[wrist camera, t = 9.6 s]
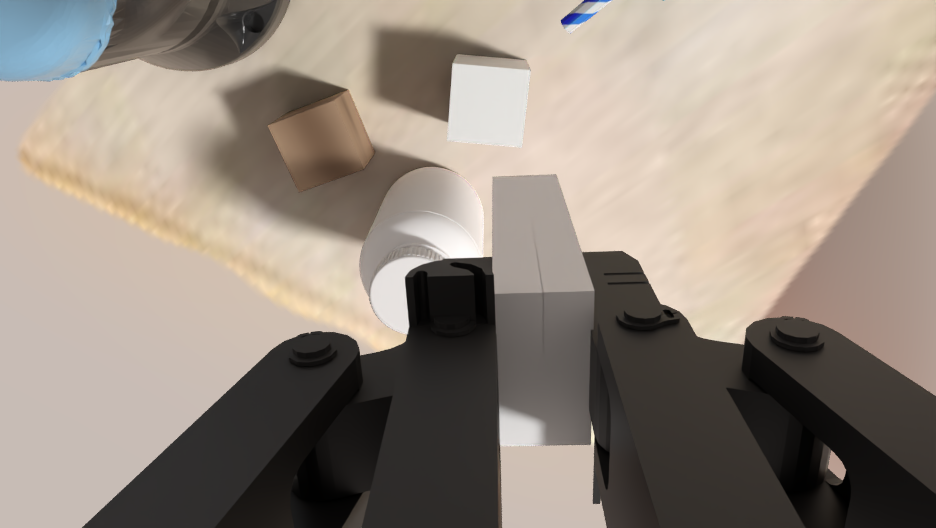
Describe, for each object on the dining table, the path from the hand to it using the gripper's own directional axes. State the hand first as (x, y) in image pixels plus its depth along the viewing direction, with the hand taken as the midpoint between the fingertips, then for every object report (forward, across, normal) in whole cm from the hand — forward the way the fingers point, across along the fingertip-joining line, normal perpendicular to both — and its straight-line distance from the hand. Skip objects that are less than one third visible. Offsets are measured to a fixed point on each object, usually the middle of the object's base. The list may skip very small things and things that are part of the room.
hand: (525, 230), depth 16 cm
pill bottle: (+36, -6, -11) cm, 38 cm away
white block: (+36, -1, -2) cm, 36 cm away
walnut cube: (+36, -13, -4) cm, 38 cm away
